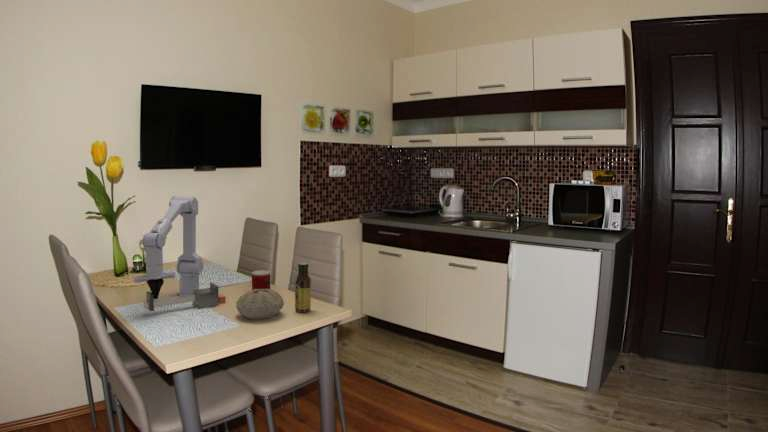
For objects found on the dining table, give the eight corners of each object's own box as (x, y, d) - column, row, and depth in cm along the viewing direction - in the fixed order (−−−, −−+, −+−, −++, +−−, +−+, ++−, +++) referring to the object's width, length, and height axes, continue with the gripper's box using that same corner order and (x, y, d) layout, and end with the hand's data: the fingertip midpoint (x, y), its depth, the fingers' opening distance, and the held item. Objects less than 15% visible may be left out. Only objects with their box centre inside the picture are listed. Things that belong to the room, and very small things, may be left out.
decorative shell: (227, 315, 187) (227, 290, 185) (265, 305, 200) (265, 282, 199) (254, 326, 175) (254, 300, 174) (293, 315, 189) (293, 290, 188)
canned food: (267, 299, 209) (267, 274, 207) (249, 298, 209) (248, 274, 208) (272, 294, 216) (272, 270, 215) (255, 293, 217) (255, 269, 215)
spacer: (215, 295, 203) (221, 294, 205) (215, 302, 203) (221, 301, 205) (219, 297, 200) (225, 296, 202) (219, 304, 200) (225, 303, 202)
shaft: (142, 308, 185) (142, 292, 184) (202, 298, 200) (202, 283, 199) (146, 312, 181) (145, 295, 181) (207, 301, 196) (207, 286, 196)
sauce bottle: (295, 308, 197) (296, 261, 195) (311, 308, 198) (311, 261, 195) (294, 313, 191) (294, 264, 188) (310, 313, 191) (310, 264, 189)
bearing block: (192, 304, 199) (192, 285, 198) (212, 301, 204) (211, 282, 203) (199, 308, 193) (198, 288, 192) (218, 305, 199) (218, 285, 198)
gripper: (136, 268, 176) (137, 304, 178) (177, 263, 185) (178, 297, 187) (131, 264, 181) (132, 299, 183) (171, 260, 191) (172, 293, 192)
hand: (155, 298), depth 185 cm, fingers closed
